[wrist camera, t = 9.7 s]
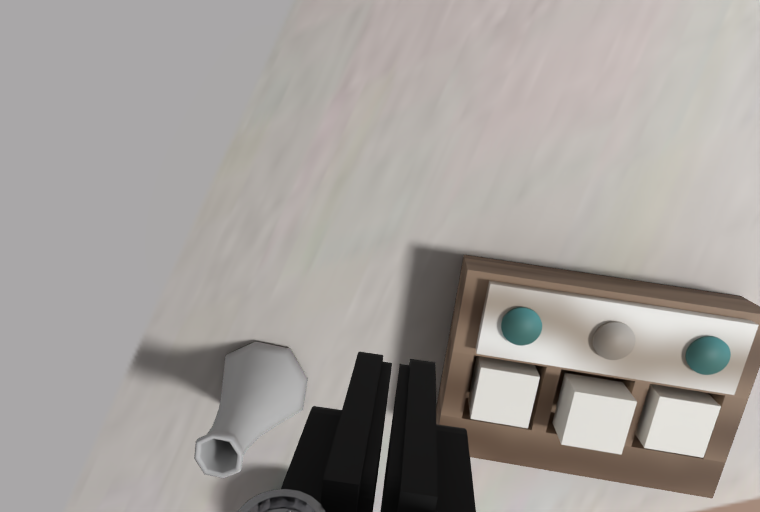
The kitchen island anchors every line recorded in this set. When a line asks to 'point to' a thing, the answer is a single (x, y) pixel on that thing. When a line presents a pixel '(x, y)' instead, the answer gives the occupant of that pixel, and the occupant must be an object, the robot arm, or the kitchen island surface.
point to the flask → (250, 404)
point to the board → (552, 377)
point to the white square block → (677, 420)
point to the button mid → (593, 413)
